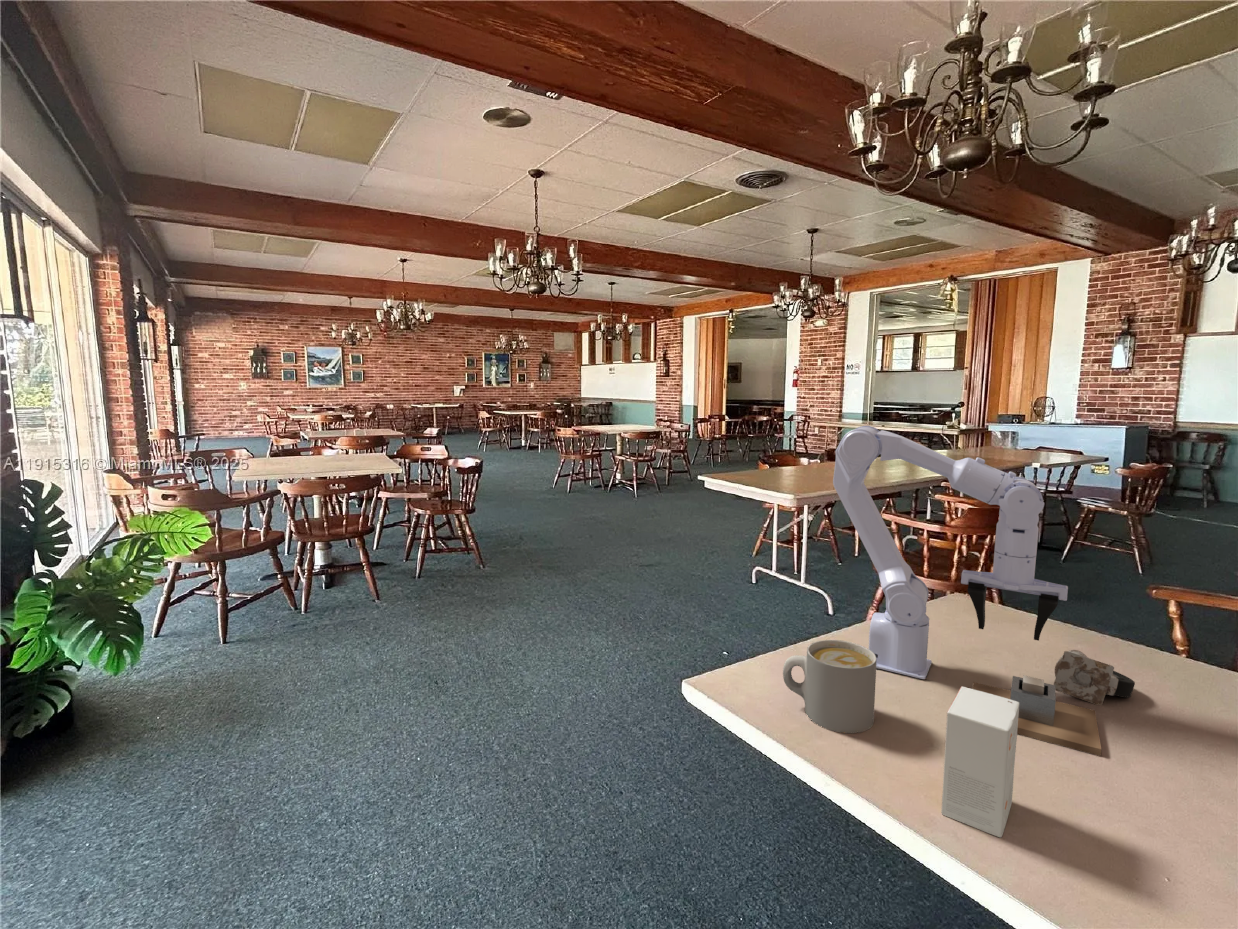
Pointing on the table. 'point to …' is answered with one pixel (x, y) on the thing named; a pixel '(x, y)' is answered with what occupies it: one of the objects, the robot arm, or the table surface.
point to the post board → (1056, 720)
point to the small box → (980, 760)
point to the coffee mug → (836, 684)
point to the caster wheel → (1089, 678)
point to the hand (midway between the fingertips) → (1008, 632)
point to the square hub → (1034, 702)
